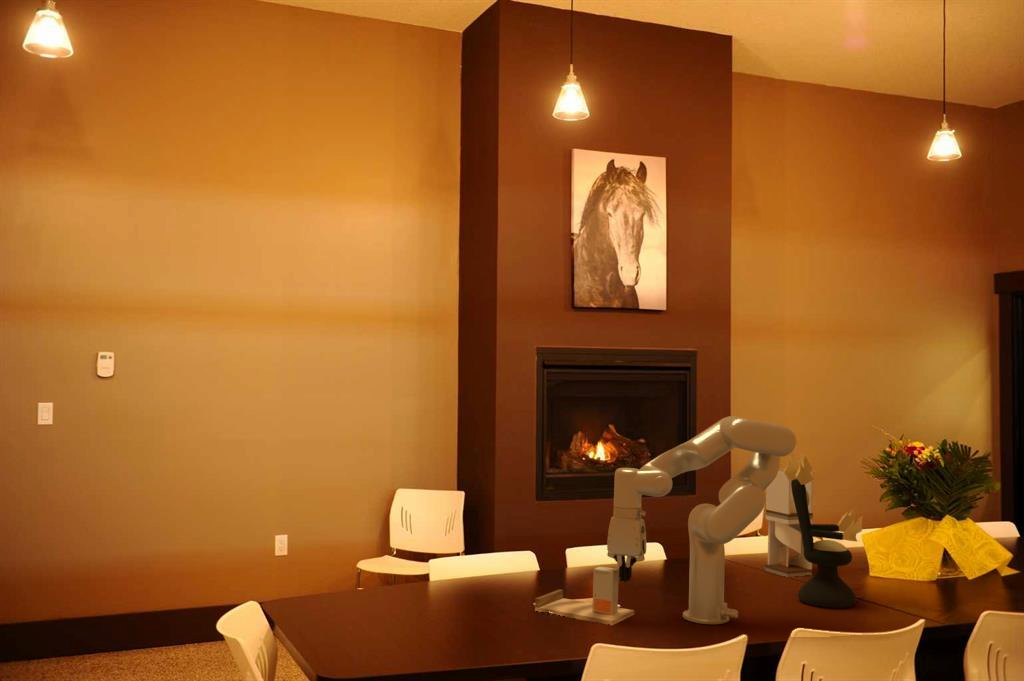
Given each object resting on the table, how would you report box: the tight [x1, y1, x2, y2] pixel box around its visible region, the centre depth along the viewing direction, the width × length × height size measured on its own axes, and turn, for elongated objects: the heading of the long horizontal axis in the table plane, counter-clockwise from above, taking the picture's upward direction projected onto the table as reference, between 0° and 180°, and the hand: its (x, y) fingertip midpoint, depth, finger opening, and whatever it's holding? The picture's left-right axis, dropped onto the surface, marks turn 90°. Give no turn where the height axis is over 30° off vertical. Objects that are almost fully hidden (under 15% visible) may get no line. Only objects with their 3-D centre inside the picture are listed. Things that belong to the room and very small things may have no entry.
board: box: [534, 589, 635, 626], centre depth 270 cm, size 24×14×4 cm, turn 58°
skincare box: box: [592, 566, 620, 615], centre depth 267 cm, size 6×4×12 cm
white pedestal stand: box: [764, 468, 814, 578], centre depth 332 cm, size 11×11×35 cm
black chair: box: [784, 451, 864, 609], centre depth 291 cm, size 19×22×45 cm
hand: (625, 580), depth 264 cm, fingers closed
